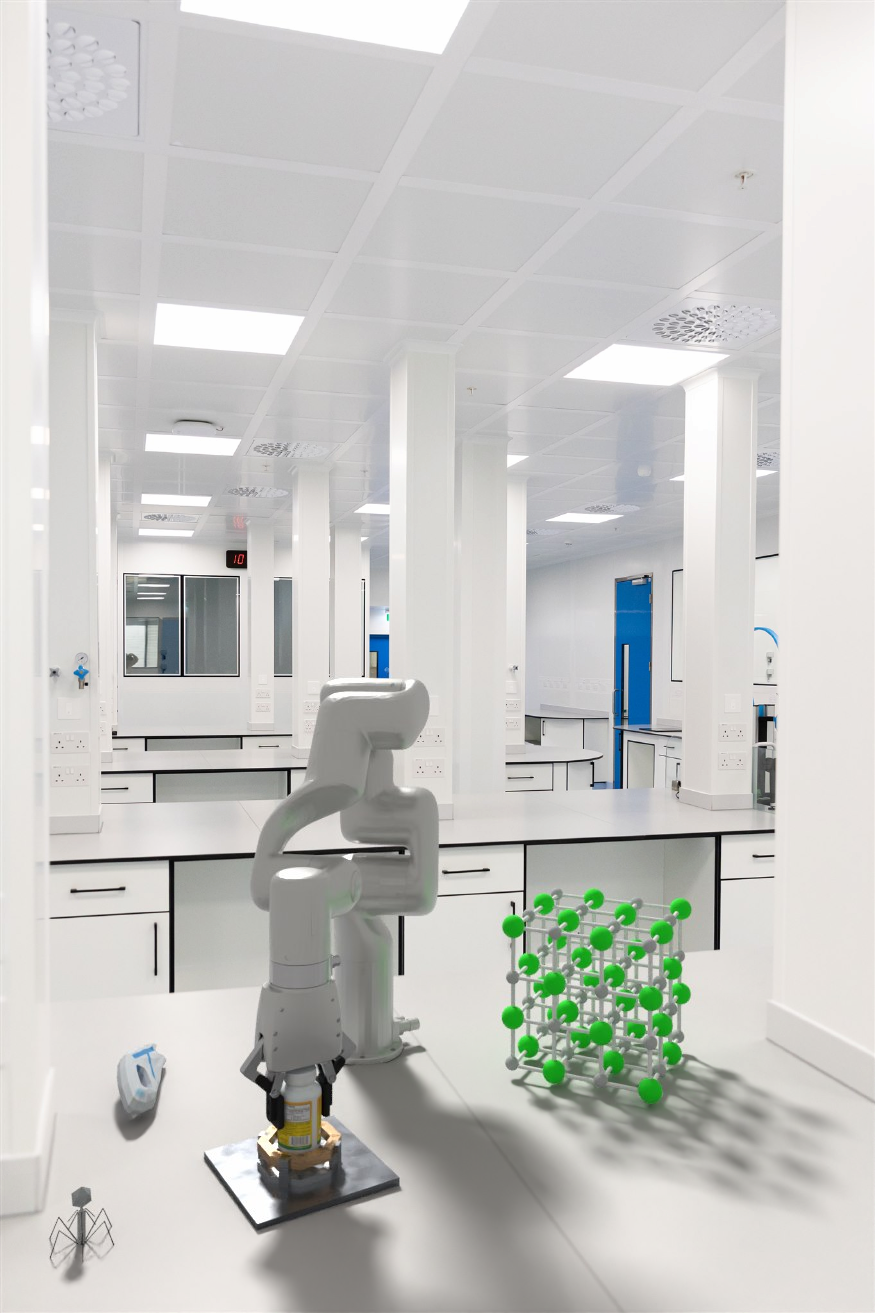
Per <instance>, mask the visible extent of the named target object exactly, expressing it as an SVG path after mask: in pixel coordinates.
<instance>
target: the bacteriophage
mask: <svg viewBox="0 0 875 1313" xmlns="http://www.w3.org/2000/svg"><path fill="white" fill-rule="evenodd" d="M91 1201H92V1191H91V1188H89V1187H85V1186H80V1187H79V1188H77V1189H75V1190H74V1191H73V1192H71V1202H72V1205H71V1206H72V1207H75V1208H79V1209H76V1210H75V1211H74V1213H73V1214H72V1215H71V1216H70V1218H69V1219H68V1220H67V1222H69V1221H70V1220H71V1219H72V1218H73V1219H72V1221H71V1223H70V1224H69V1226H68V1225H67V1224H66V1223H64V1221H63V1220H62V1219H61V1217H60V1216H58V1217H57V1219H56V1221H55V1224H54V1226H53V1228H52V1232H51V1234H50V1236H49V1240H50V1239H51V1238H52V1236H53V1234H54V1232H55V1231H54V1230H55V1228H56V1226H57V1224H58V1220H60V1222H61V1223H62V1224H63V1226H64V1227H65V1228H66V1230H67V1231H68V1232H69V1234H70V1235H71V1236H72V1238H73V1239H72V1238H71V1237H70V1236H69V1235H67V1234H66V1233H64V1232H62V1231H61V1230H58V1231H57V1233H56V1234H57V1235H56V1238H55V1241H54V1243H53V1246H52V1249H51V1253H50V1256H49V1259H51V1258H52V1256H53V1252H54V1250H55V1246H56V1243H57V1240H58V1237H59V1234H60V1233H61V1234H63V1235H64V1236H65V1237H67V1238H68V1239H69V1240H71V1241H72V1242H73V1243H75V1244H76V1245H80V1246H82V1247H81V1251H82V1252H81V1254H82V1256H81V1258H82V1262H84V1244H85V1243H87V1242H88V1241H89V1240H90V1239H91V1238H92V1236H93V1235H94V1234H95V1233H96V1232H97V1230H99V1228H101V1227H102V1225H103V1224H104V1225H105V1227H106V1230H107V1233H108V1235H109V1238H110V1241H111V1243H112V1246H115V1242H114V1241H113V1238H112V1236H111V1235H112V1234H111V1233H110V1231H109V1228H108V1225H107V1223H106V1221H105V1220H104V1221H103V1222H101V1224H100V1225H99V1226H98V1227H97V1228H96V1229H95V1231H93V1233H92V1234H91V1235H90V1233H91V1232H92V1230H93V1228H94V1226H95V1225H96V1223H97V1221H98V1219H99V1217H100V1216H101V1213H102V1212H104V1215H105V1217H106V1219H107V1221H108V1223H109V1225H110V1227H113V1225H112V1222H111V1221H110V1219H109V1216H108V1215H107V1213H106V1210H105V1208H104V1207H102V1208H101V1210H100V1212H99V1213H98V1215H97V1217H96V1215H95V1214H93V1212H91V1211H90V1210H89V1209H88V1208H86V1207H85V1206H86V1205H88V1204H89V1203H90V1202H91ZM84 1207H85V1208H84ZM90 1214H91V1215H92V1216H93V1217H96V1219H95V1221H94V1219H93V1218H92V1216H91V1215H90ZM86 1215H88V1217H89V1219H90V1220H91V1222H93V1224H92V1226H91V1228H90V1229H89V1231H88V1234H86V1233H87V1231H86V1228H87V1225H86V1224H87V1223H86V1222H87V1221H86V1217H87V1216H86ZM76 1218H77V1219H76ZM75 1220H77V1222H76V1225H77V1226H76V1228H77V1229H76V1230H77V1231H76V1232H77V1233H76V1234H77V1236H76V1237H75V1235H74V1234H73V1233H72V1231H71V1230H70V1229H71V1226H72V1224H74V1223H73V1222H74V1221H75ZM89 1235H90V1236H89Z"/></svg>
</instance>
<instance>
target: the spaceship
mask: <svg viewBox="0 0 875 1313" xmlns="http://www.w3.org/2000/svg"><path fill="white" fill-rule="evenodd" d="M166 1062H167V1058H166V1056H165V1055H164V1054H162V1053H159V1052H158V1051H157V1044H156V1043H147V1044H144V1045H140V1046H137V1047H134V1048H132V1049H130V1050H129V1051H127V1052H126V1053H125V1054H124V1055H123V1056H122V1057H121V1058H120V1059H119V1062H118V1064H117V1069H116V1081H117V1082H116V1083H117V1089H118V1093H119V1097H120V1099H121V1100H120V1101H121V1103H122V1106H123V1109H124V1110H125V1112H126V1113H128V1114H129V1115H134V1116H137V1115H141V1114H143V1113H145V1112H147V1111H149V1110H151V1109H153V1108H154V1107H155V1103H156V1101H157V1092H158V1089H159V1087H160V1082H161V1077H162V1069H163V1067H164V1065H165V1063H166Z"/></svg>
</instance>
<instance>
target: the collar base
mask: <svg viewBox="0 0 875 1313" xmlns="http://www.w3.org/2000/svg"><path fill="white" fill-rule="evenodd" d="M203 1159H204V1160H205V1161H206V1163H207V1164H208V1165H209V1167H210V1168H211V1169H212V1171H213V1172H214V1174H215V1175H216V1176H217V1178H218V1179H219V1180H220V1183H222V1185H223V1186H224V1188H225V1189H226V1190H227V1192H228V1193H229V1194H230V1196H231V1197H232V1198H233V1200H234V1201H235V1203H236V1204H237V1205H238V1206H239V1208H240V1209H241V1210H242V1212H243V1213H244V1215H245V1216H246V1217H247V1219H248V1220H249V1222H250V1223H251V1225H253V1227H254V1228H255V1229H256V1231H261V1230H264V1229H267V1228H270V1227H273V1226H277V1225H280V1224H283V1223H286V1222H289V1221H292V1220H295V1219H298V1218H301V1217H302V1218H303V1217H305V1216H307V1215H312V1214H315V1213H317V1212H321V1211H325V1210H328V1209H330V1208H333V1207H336V1206H339V1205H343V1204H346V1203H350V1202H352V1201H356V1200H359V1199H362V1198H365V1197H368V1196H372V1195H375V1194H377V1193H381V1192H383V1191H387V1190H390V1189H393V1188H394V1189H395V1188H397V1187H400V1181H401V1180H400V1177H399V1175H398V1174H397V1173H395V1172H394V1170H392V1169H391V1168H390V1166H388V1165H387V1164H386V1163H385V1162H384V1161H383V1160H381V1159H380V1158H379V1157H378V1155H376V1154H375V1153H374V1152H373V1151H372V1150H371V1149H370V1148H369V1147H368V1146H367V1145H366V1144H365V1143H363V1141H362V1140H361V1139H360V1138H358V1137H357V1136H356V1135H355V1134H354V1133H353V1132H352V1131H351V1130H350V1129H349V1128H348V1127H346V1126H345V1124H343V1123H342V1122H341V1121H340V1120H339V1119H338V1118H337V1117H336V1116H335V1115H330V1116H329V1117H324V1118H321V1144H320V1146H319V1148H318V1149H316V1150H313V1151H309V1152H306V1153H302V1154H296V1153H288V1152H281V1151H280V1150H279V1148H278V1130H277V1129H276V1128H275V1126H274V1125H273V1124H271V1125H269V1127H268V1128H267V1129H266V1130H262V1131H260V1133H259V1134H258V1135H257V1136H256V1137H251V1138H247V1139H245V1140H241V1141H237V1142H233V1143H230V1144H226V1145H222V1146H219V1147H216V1148H215V1147H214V1148H212V1149H208V1150H204V1151H203Z"/></svg>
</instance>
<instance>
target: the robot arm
mask: <svg viewBox="0 0 875 1313" xmlns="http://www.w3.org/2000/svg"><path fill="white" fill-rule="evenodd" d="M430 703H431V702H430V695H429V691H428V689H427V687H426V685H425V684H424V683H423V682H422V681H421V680H418V679H415V678H394V677H393V678H389V677H388V678H386V677H385V678H383V677H382V678H378V677H344V678H338V679H332V680H329V681H327V682H325V683H324V684H323V686H322V687H321V689H320V693H319V706H318V710H317V715H316V719H315V724H314V725H315V726H314V730H313V734H312V740H311V744H310V750H309V756H308V759H307V765H306V770H305V776H304V779H303V782H302V783H301V784H300V785H299V786H298V787H297V788H296V789H294V790H293V791H291V792H290V794H288V795H287V796H286V797H285V798H284V799H283V800H282V801H281V802H280V803H279V804H278V805H277V806H276V807H275V809H274V810H273V811H272V812H271V814H270V815H269V817H268V818H267V819H266V821H265V822H264V824H263V826H262V829H261V831H260V834H259V836H258V841H257V844H256V850H255V854H254V858H253V863H252V869H251V874H250V880H249V881H250V884H249V887H250V888H249V890H250V896H251V898H252V899H251V900H252V902H253V903H254V905H255V906H256V907H257V908H258V909H260V910H262V911H264V912H268V913H269V916H268V917H269V918H268V920H269V924H268V925H269V927H268V928H269V930H268V932H269V933H268V934H269V943H268V944H269V945H268V947H269V948H268V950H269V951H268V963H269V966H268V981H266V982H263V984H262V985H261V990H260V993H259V1000H258V1005H257V1011H256V1019H255V1030H254V1043H253V1044H254V1045H253V1046H254V1047H253V1049H252V1050H251V1052H249V1054H248V1056H247V1057H246V1059H245V1061H244V1062H243V1063H242V1064H241V1065H240V1067H239V1073H241V1074H242V1076H244V1077H245V1078H246V1079H248V1080H249V1081H251V1082H252V1083H254V1084H255V1085H257V1086H258V1087H259V1088H260V1089H261V1090H262V1091H264V1092H265V1116H266V1119H267V1120H268V1122H269V1123H271V1125H274V1126H275V1128H276V1129H277V1130H281V1129H283V1128H284V1097H283V1095H282V1094H281V1088H282V1084H283V1083H284V1082H285V1081H284V1077H285V1074H286V1072H287V1071H291V1070H295V1069H300V1068H304V1067H308V1066H312V1065H315V1066H316V1071H317V1072H318V1073H317V1077H316V1081H317V1082H318V1083H319V1084H320V1086H321V1089H322V1104H321V1117H324V1118H327V1117H330V1116H331V1106H333V1084H334V1083H335V1082H336V1081H337V1075H338V1074H339V1073H340V1072H341V1070H342V1069H343V1068H344V1066H346V1065H350V1066H354V1065H355V1066H356V1065H371V1064H372V1065H373V1064H379V1063H387V1062H390V1061H393V1060H394V1059H396V1058H398V1057H399V1055H401V1053H402V1052H403V1047H404V1046H403V1045H404V1042H403V1039H402V1038H401V1036H404V1033H406V1032H412V1031H417V1030H419V1029H420V1027H421V1023H420V1019H419V1018H418V1017H417V1016H416V1017H412V1018H407V1019H405V1016H404V1015H399V1016H396V1017H395V1016H394V965H395V964H394V957H395V956H394V953H395V952H394V948H395V947H394V946H395V945H394V939H393V936H392V933H391V931H390V929H389V927H388V926H387V924H386V923H385V922H384V919H382V917H381V916H401V917H402V916H403V917H422V916H423V917H424V916H427V915H429V914H431V913H432V912H433V911H434V909H435V907H436V905H437V902H438V895H439V864H440V862H439V856H440V854H439V850H440V849H439V848H440V847H439V846H440V842H439V841H440V839H439V837H440V821H439V820H440V817H439V816H440V815H439V806H438V802H437V799H436V796H435V795H434V793H433V792H432V791H431V790H429V789H427V788H425V787H420V786H408V785H407V786H406V785H405V786H403V785H402V786H401V785H395V783H394V782H395V781H394V762H395V761H394V754H393V752H392V751H400V750H401V751H402V750H408V749H409V748H411V747H412V746H413V745H414V744H415V742H416V741H417V739H418V737H419V736H420V734H421V733H422V732H423V730H424V728H425V726H426V724H427V722H428V719H429V714H430ZM336 813H339V822H340V823H339V824H340V832H341V834H342V837H343V838H344V840H346V841H347V842H350V843H352V844H357V845H368V846H388V847H389V846H393V847H404V848H406V849H407V850H408V853H409V854H397V853H396V854H394V853H390V854H389V853H380V852H379V853H373V852H372V853H371V852H357V853H349V854H345V855H342V856H336V855H317V854H316V855H315V854H296V853H295V854H294V853H293V854H292V853H284V851H285V848H286V846H287V844H288V843H289V841H290V840H291V839H292V838H293V837H294V835H296V834H297V833H298V832H299V831H300V830H302V829H304V828H306V827H307V826H308V825H311V824H312V823H315V822H317V821H320V820H321V819H322V820H323V819H324V818H327V817H330V816H332V815H334V814H336ZM332 919H333V930H334V932H333V934H334V938H333V939H334V940H333V941H334V942H333V943H334V945H333V946H334V951H333V952H334V953H333V954H332ZM333 969H334V970H333ZM333 972H334V973H333ZM261 1063H265V1067H266V1070H265V1072H264V1073H265V1074H263V1073H262V1072H260V1071H259V1070H258V1068H259V1065H261Z"/></svg>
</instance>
